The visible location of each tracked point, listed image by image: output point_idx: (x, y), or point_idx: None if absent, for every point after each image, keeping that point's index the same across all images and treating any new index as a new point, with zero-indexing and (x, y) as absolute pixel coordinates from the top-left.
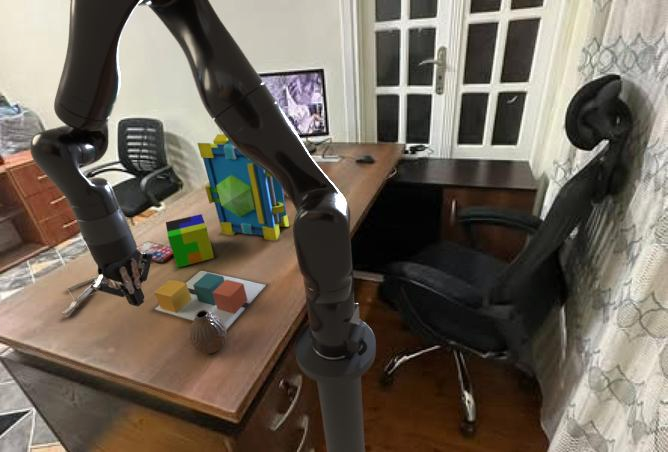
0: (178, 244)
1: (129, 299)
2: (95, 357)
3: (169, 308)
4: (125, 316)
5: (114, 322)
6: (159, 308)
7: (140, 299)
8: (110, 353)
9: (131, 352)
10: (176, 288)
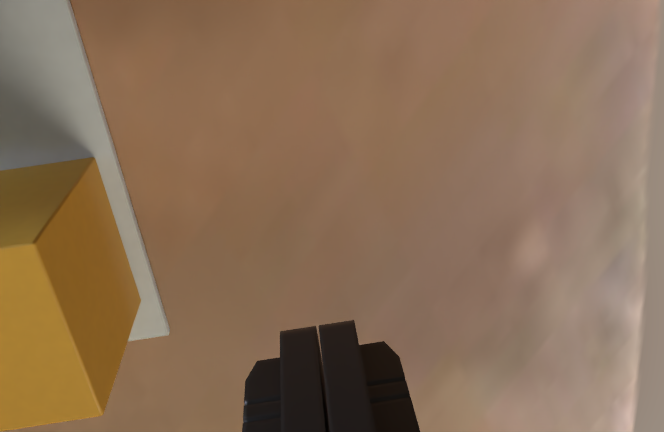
0: None
1: (415, 429)
2: (604, 275)
3: (106, 230)
4: None
5: None
6: (147, 311)
7: (312, 360)
8: (556, 229)
9: (506, 116)
10: None
